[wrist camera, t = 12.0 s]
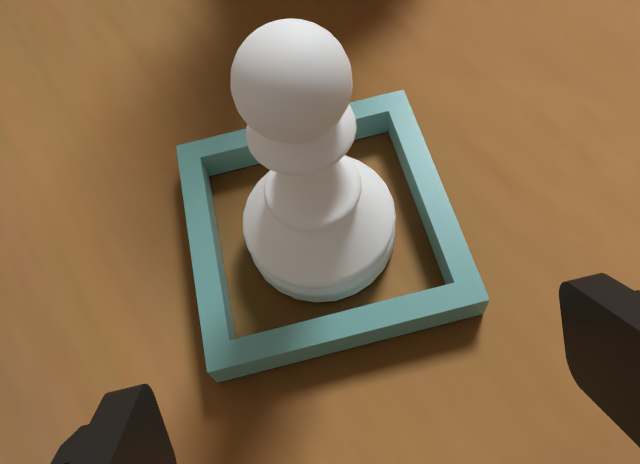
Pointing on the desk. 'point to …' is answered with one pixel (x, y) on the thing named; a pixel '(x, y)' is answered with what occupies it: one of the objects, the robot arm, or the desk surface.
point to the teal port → (343, 327)
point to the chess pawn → (308, 166)
